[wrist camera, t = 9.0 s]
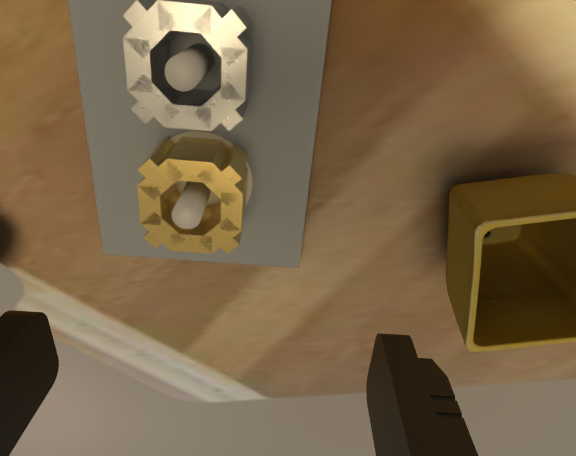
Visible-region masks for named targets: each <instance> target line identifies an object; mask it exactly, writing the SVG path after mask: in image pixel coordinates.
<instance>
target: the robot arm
mask: <svg viewBox="0 0 576 456" xmlns="http://www.w3.org/2000/svg"><path fill="white" fill-rule="evenodd" d="M58 366H59V360H58V355H57V351H56V348H55V344H54V340H53V336H52V333H51V329H50V325H49V322H48V318H47V316H46V315H45V314H44V313H42V312H27V311H7V312H5V313H4V314H3V315H2V316H1V317H0V456H9V455H10V453H11V451H12V450H13V448H14V447H15V445H16V443H17V441H18V440H19V438H20V437H21V435H22V434H23V432H24V430H25V429H26V427H27V426H28V424H29V423H30V421H31V419H32V418H33V416H34V414H35V413H36V411H37V409H38V408H39V406H40V405H41V403H42V402H43V400H44V398H45V397H46V395H47V394H48V392H49V390H50V389H51V387H52V385H53V384H54V382H55V379H56V376H57V373H58ZM367 405H368V411H369V417H370V422H371V428H372V434H373V440H374V446H375V452H376V456H478V454H477V451H476V449H475V446H474V444H473V441H472V439H471V436H470V434H469V431H468V428H467V426H466V423H465V421H464V418H462V413H461V411H460V408H459V405H458V403H457V401H455V395H454V393H453V390H452V388H451V385H450V382H449V380H448V377H447V376H446V375H445V373H444V372H443V371H442V370H441V369H440V368H439V367H438V365H437V364H436V363H435V362H434V361H433V360H432V359H426V358H418V357H417V354H416V351H415V348H414V345H413V342H412V339H411V337H410V336H409V335H396V334H377V336H376V339H375V344H374V348H373V353H372V358H371V363H370V367H369V372H368V377H367Z"/></svg>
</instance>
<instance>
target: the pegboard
mask: <svg viewBox="0 0 576 456" xmlns="http://www.w3.org/2000/svg"><path fill="white" fill-rule="evenodd" d="M135 1H136V0H68V5H69V12H70V20H71V27H72V34H73V41H74V48H75V55H76V62H77V69H78V76H79V83H80V90H81V97H82V105H83V112H84V119H85V126H86V133H87V140H88V147H89V154H90V161H91V168H92V175H93V183H94V190H95V197H96V204H97V211H98V218H99V225H100V232H101V239H102V246H103V253H104V254H108V255H122V256H137V257H151V258H165V259H180V260H194V261H208V262H222V263H237V264H251V265H265V266H279V267H294V268H299V264H300V256H301V248H302V239H303V231H304V223H305V215H306V207H307V198H308V190H309V182H310V174H311V166H312V158H313V149H314V141H315V133H316V125H317V117H318V109H319V100H320V92H321V84H322V76H323V68H324V59H325V51H326V43H327V35H328V27H329V19H330V10H331V2H332V0H197V1H207V2H217V3H223V4H224V6H225V7H226V8H227V9H228V11H230V10H231V9H234V8H236V7H239V6H240V7H241V9H242V10H243V11H244V12H245V14H246V15H247V16H248V17H249V19H250V20H251V21H252V23H251V24H250V25H249V26H248V27H247V28H246V29H245V32H246V33H247V34H248V35H249V37H250V38H251V39H252V40H253V46H252V68H251V86H250V89H249V91H248V94H247V97H246V98H247V100H248V101H249V102H248V105H247V108H246V111H245V114H244V118H243V119H242V120H241V121H240V122H239V123H238V124H237V125H236V126H234V127H233V128H232V129H231V130H230V131H228V130H227V129H226V128H225V127H224V125H223V124H222V123H220V124H218V125H217V126H216V127H215V128H214V129H213V130H212V131H203V130H192V129H180V128H168V127H163V126H162V125H161V123H160V122H159V121H158V120H157V119H156V118H155V117H153V118H152V119H151V120H150V121H149V122H148V123H147V124H145V123H144V122H143V121H142V120H141V119H140V118H139V117H138V116H137V115H136V114H135V113H134V112H133V111H132V110H131V108H132V107H133V106H134V105H135V104H136V103H137V102H138V100H137V99H136V98H135V97H134V96H133V95H132V94H131V93H130V92H129V91H128V89H127V78H126V67H125V56H124V44H123V37H124V36H125V35H126V34H127V33H128V31H129V30H130V29H131V28H132V26H131V24H130V23H129V22H128V21H127V20H126V19H125V18H124V17H123V15H124V14H125V12H126V11H127V10H128V9H129V8H130V7H131V6H132V5H133V4H134V3H135ZM169 44H170V59H169V60H168V62H167V63H166V66H165V77H166V79H167V81H168V83H169V84H170V85H171V86H172V87H173V88H175V89H176V90H179V91H189V90H191V89H200V90H211V91H213V90H214V89H215V88H216V87H217V86H218V85H219V84H220V83H221V70H222V58H221V57H220V56H219V54H218V53H217V52H216V51H215V50H214V49H213V47H212V46H211V45H210V44H209V43H208V42H207V40H206V39H205V38H204V37H203V36H202V35H201V33H192V32H182V31H180V32H179V33H178V34H177V35H176V36H175V37H174V38H173V39H172V40H171V41H170V42H169ZM167 136H168V137H169V138H170V139H171V140H172V141H173V142H174V143H176V142H177V141H178V140H179V139H180V138H181V137H183V136H184V137H195V138H207V139H219V140H223V141H224V143H225V144H226V145H227V146H228V147H229V148H231V147H232V146H233V145H234V144H235V143H236V142H237V143H238V144H239V145H240V146H241V147H242V148H243V149H244V151H245V152H246V153H247V154H248V155H247V159H246V164H245V165H246V166H247V167H248V182H247V202H246V208H245V213H244V214H245V216H244V222H243V228H242V233H241V239H240V244H239V245H238V246H237V247H236V248H234V249H233V250H232V251H230V252H229V253H228V254H227V253H226V252H225V251H224V250H223V249H222V248H219V249H217V250H216V251H215V252H214V253H212V254H208V253H194V252H181V251H171V250H170V249H169V248H168V247H167V246H165V245H164V244H163V243H162V244H161V245H160V246H159V247H157V248H154V247H153V246H152V245H151V244H150V243H149V242H148V241H146V240H145V239H144V238H143V237H144V235H145V233H146V232H147V229H146V228H145V227H144V226H143V225H141V223H140V211H139V200H138V188H137V185H138V184H139V183H140V181H141V180H142V179H143V177H144V176H143V175H142V174H141V173H140V172H139V171H138V168H139V167H140V166H141V165H142V164H143V162H144V161H145V160H146V159H147V157H148V156H149V155H150V154H151V153H152V151H153V150H154V149H155V148H156V146H158V145H159V144H160V143H161V142H162V141H163V140H164V139H165V138H166V137H167ZM176 188H177V190H178V191H179V192H180V193H181V195H180V197H179V198H178V200H177V202H176V204H175V206H174V208H173V210H172V219H173V221H174V223H175V224H176V225H177V226H179V227H180V228H183V229H192V228H195V227H196V226H198V224H199V223H200V221H201V218H202V215H203V212H204V210H205V207H206V205H208V206H214V205H215V204H216V203H218V202H219V201H220V199H219V198H218V197H217V196H216V195H215V194H214V193H213V192H212V191H211V190H210V189H209V188H208V187H207V186H206V185H205V184H204V183H203V182H191V181H178V180H177V181H176Z"/></svg>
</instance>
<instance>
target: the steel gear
mask: <svg viewBox="0 0 576 456" xmlns="http://www.w3.org/2000/svg"><path fill="white" fill-rule="evenodd" d="M123 17H124V18H125V19H126V20H127V21H128V22H129V23H130V24H131V26H132V28H131V29H130V30H129V31H128V33H127V34H126V35H125V36H124V37H123V44H124V56H125V67H126V78H127V89H128V91H129V92H130V93H131V94H132V95H133V96H134V97H135V98H136V99H137V100H138V102H137V103H136V104H135V105H134V106H133V107H132V108H131V110H132V111H133V112H134V113H135V114H136V115H137V116H138V117H139V118H140V119H141V120H142V121H143V122H144V123H145V124H147V123H148V122H149V121H150V120H151V119H152V118H153V117H155V118H156V119H157V120H158V121H159V122H160V123H161V125H162V126H163V127H168V128H180V129H192V130H203V131H212V130H213V129H214V128H215V127H216V126H217V125H218V124H220V123H222V124H223V125H224V127H225V128H226V129H227V130H228V131H230V130H231V129H232V128H233V127H234V126H236V125H237V124H238V123H239V122H240V121H241V120H242V119H243V118H244V114H245V111H246V108H247V105H248V102H249V101H248V100H247V98H246V97H247V94H248V91H249V89H250V86H251V68H252V46H253V40H252V39H251V38H250V37H249V35H248V34H247V33H246V32H245V29H246V28H247V27H248V26H249V25H250V24H251V23H252V21H251V20H250V19H249V17H248V16H247V15H246V14H245V12H244V11H243V10H242V9H241V7H240V6H239V7H236V8H234V9H231V10H230V11H228V9H227V8H226V7H225V6H224V4H223V3H217V2H207V1H197V0H136V1H135V3H134V4H133V5H132V6H131V7H130V8H129V9H128V10H127V11H126V12H125V14H124V15H123ZM180 31H182V32H192V33H201V35H202V36H203V37H204V38H205V39H206V40H207V42H208V43H209V44H210V45H211V46H212V47H213V49H214V50H215V51H216V52H217V53H218V54H219V56H220V57H221V58H222V70H221V83H220V84H219V85H218V86H217V87H216V88H215V89H214V90H213V91H211V90H200V89H191V90H189V91H179V90H176V89H175V88H173V87H172V86H171V85H170V84H169V83H168V81H167V79H166V77H165V66H166V63H167V62H168V60H169V59H170V44H169V42H170V41H171V40H172V39H173V38H174V37H175V36H176V35H177V34H178V33H179V32H180Z"/></svg>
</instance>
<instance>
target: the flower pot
mask: <svg viewBox="0 0 576 456" xmlns="http://www.w3.org/2000/svg"><path fill="white" fill-rule="evenodd" d="M488 231H489V235H488V236H485V237H484V235H485V234H486V233H487V232H488ZM446 284H447V291H448V295H449V298H450V302H451V305H452V308H453V311H454V314H455V317H456V320H457V323H458V326H459V329H460V331H461V334H462V337H463V340H464V343H465V346H466V348H467V349H468V351H470V352H481V351H494V350H502V349H510V348H519V347H528V346H537V345H547V344H557V343H570V342H576V176H574V175H567V174H539V175H529V176H521V177H513V178H505V179H497V180H490V181H481V182H472V183H464V184H458V185H455V186H453V187H452V188H451V190H450V195H449V220H448V241H447V256H446Z"/></svg>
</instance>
